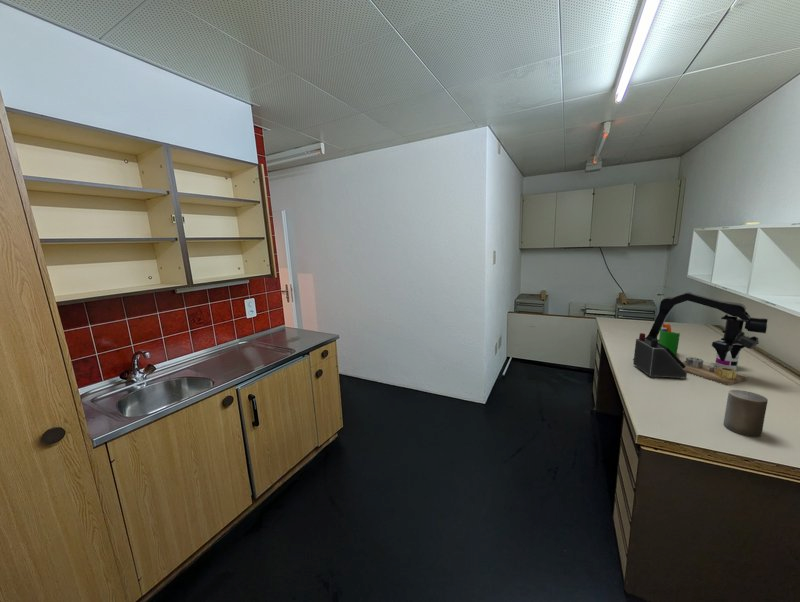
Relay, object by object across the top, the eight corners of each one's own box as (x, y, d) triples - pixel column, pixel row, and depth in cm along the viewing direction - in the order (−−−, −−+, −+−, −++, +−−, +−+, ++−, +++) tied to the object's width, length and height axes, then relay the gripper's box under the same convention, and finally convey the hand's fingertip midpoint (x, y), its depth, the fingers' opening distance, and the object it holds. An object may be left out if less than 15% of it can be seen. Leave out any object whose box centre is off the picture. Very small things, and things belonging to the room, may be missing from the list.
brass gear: (732, 380, 149) (733, 373, 149) (714, 376, 155) (715, 368, 154) (737, 377, 153) (738, 370, 152) (718, 373, 158) (720, 365, 158)
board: (727, 385, 148) (729, 373, 147) (669, 367, 170) (671, 357, 169) (746, 379, 153) (748, 368, 152) (688, 363, 176) (689, 353, 175)
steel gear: (697, 369, 163) (698, 362, 163) (682, 365, 169) (683, 358, 169) (705, 367, 165) (706, 360, 165) (690, 363, 172) (691, 356, 171)
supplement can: (718, 369, 166) (722, 343, 163) (712, 364, 173) (716, 338, 170) (739, 372, 162) (744, 345, 159) (732, 366, 169) (736, 340, 166)
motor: (681, 358, 182) (686, 326, 179) (666, 359, 183) (670, 326, 179) (667, 352, 192) (671, 321, 189) (652, 353, 192) (656, 322, 189)
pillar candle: (768, 439, 108) (776, 400, 106) (732, 434, 112) (739, 395, 109) (750, 424, 117) (757, 388, 115) (716, 420, 121) (722, 384, 118)
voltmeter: (686, 380, 155) (692, 342, 151) (649, 378, 158) (654, 341, 155) (666, 367, 170) (671, 333, 167) (632, 366, 174) (636, 332, 170)
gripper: (745, 336, 139) (739, 368, 142) (768, 331, 145) (761, 362, 148) (713, 329, 149) (708, 360, 152) (736, 325, 155) (730, 354, 158)
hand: (728, 359), depth 152 cm, fingers open, 9 cm apart
